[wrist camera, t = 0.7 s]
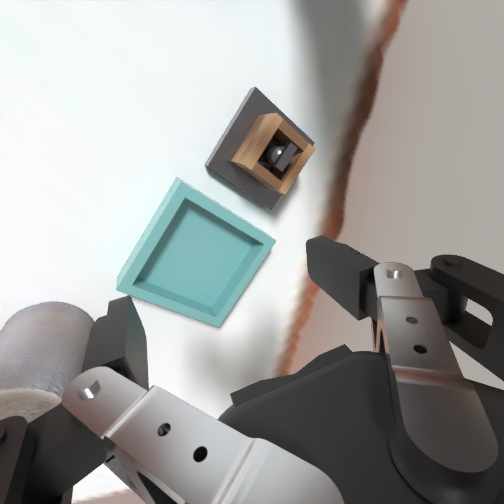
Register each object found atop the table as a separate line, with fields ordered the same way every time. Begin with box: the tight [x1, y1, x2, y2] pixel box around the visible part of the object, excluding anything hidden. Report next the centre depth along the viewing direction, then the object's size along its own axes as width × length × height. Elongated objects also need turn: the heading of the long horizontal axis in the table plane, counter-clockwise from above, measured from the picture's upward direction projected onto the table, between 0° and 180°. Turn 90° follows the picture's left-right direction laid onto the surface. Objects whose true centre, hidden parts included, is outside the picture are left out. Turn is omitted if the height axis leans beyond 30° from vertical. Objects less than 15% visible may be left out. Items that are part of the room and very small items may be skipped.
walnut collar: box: [231, 113, 315, 195], centre depth 32 cm, size 6×6×4 cm
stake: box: [205, 87, 314, 210], centre depth 32 cm, size 10×10×7 cm
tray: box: [116, 177, 276, 327], centre depth 36 cm, size 14×14×4 cm
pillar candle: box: [0, 302, 94, 422], centre depth 28 cm, size 10×10×15 cm
